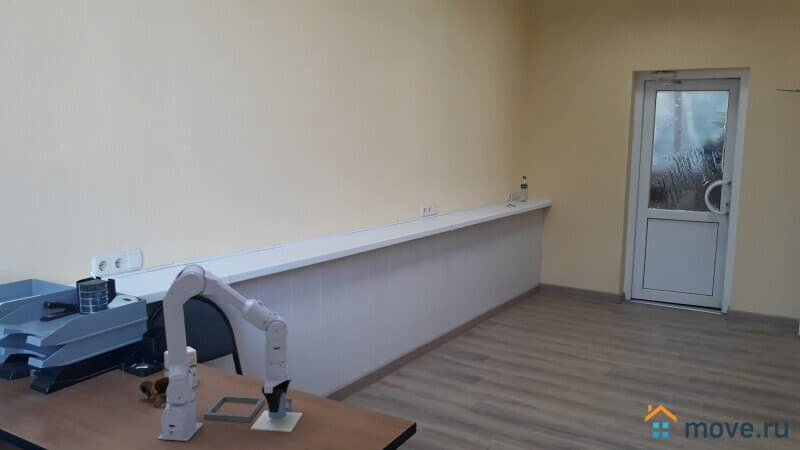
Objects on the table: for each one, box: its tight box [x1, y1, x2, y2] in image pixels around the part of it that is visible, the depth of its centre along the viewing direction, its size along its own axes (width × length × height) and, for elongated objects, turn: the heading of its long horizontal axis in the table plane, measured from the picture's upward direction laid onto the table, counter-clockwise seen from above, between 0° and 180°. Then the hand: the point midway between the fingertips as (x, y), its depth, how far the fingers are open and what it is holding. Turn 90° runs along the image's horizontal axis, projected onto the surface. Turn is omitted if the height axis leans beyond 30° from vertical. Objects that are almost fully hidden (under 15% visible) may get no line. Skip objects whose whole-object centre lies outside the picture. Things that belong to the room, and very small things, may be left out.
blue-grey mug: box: [267, 392, 294, 419], centre depth 172 cm, size 7×5×6 cm
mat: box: [250, 410, 303, 433], centre depth 172 cm, size 11×11×1 cm
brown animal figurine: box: [139, 375, 169, 408], centre depth 185 cm, size 12×9×8 cm
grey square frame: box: [203, 394, 266, 423], centre depth 179 cm, size 13×13×2 cm
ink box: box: [163, 346, 198, 388], centre depth 195 cm, size 9×5×12 cm, turn 134°
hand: (277, 408), depth 172 cm, fingers closed on blue-grey mug, 5 cm apart
